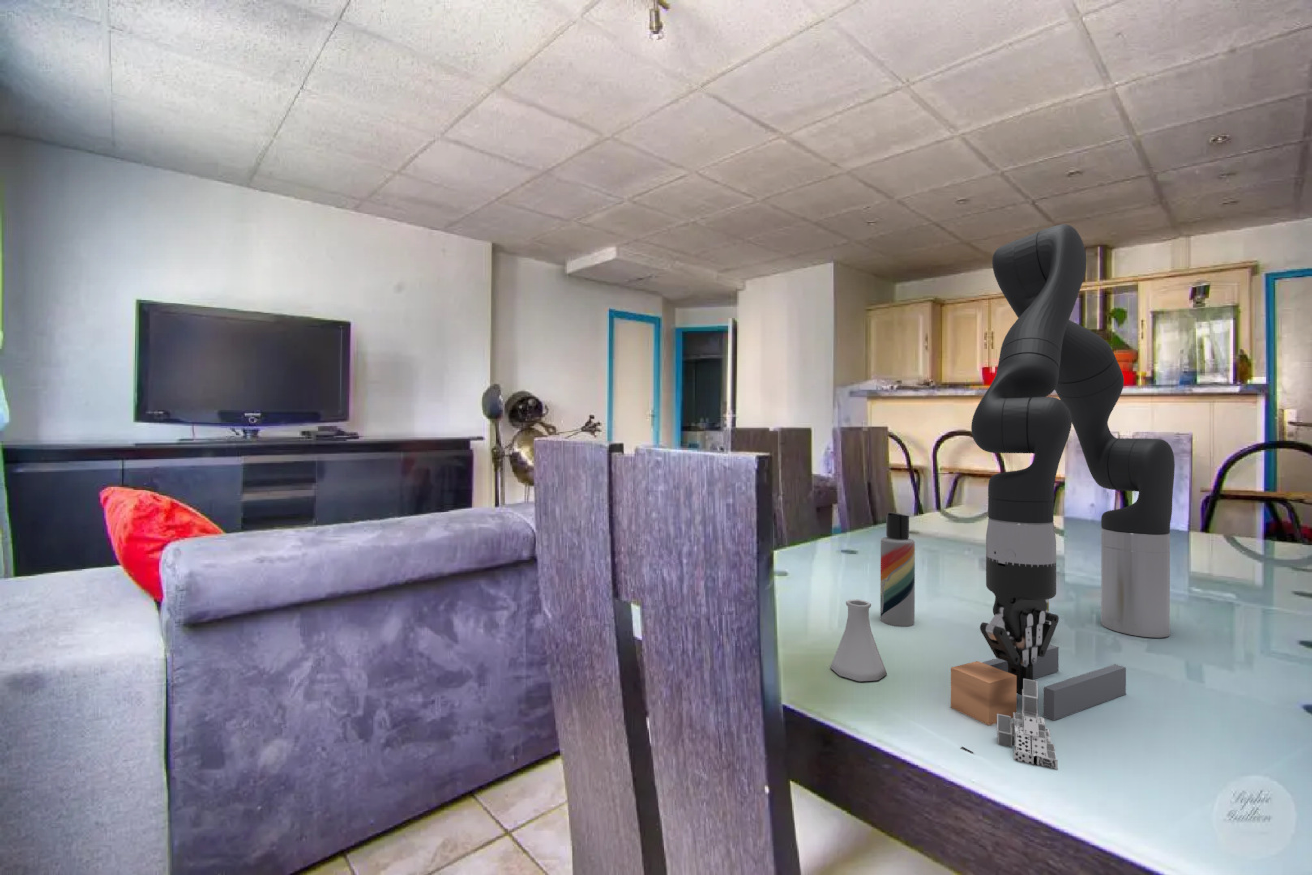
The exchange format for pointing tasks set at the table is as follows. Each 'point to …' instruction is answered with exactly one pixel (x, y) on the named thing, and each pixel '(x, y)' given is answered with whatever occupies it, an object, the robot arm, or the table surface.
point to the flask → (858, 647)
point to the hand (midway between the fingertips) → (1020, 692)
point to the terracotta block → (983, 691)
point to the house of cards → (1027, 731)
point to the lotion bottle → (897, 573)
